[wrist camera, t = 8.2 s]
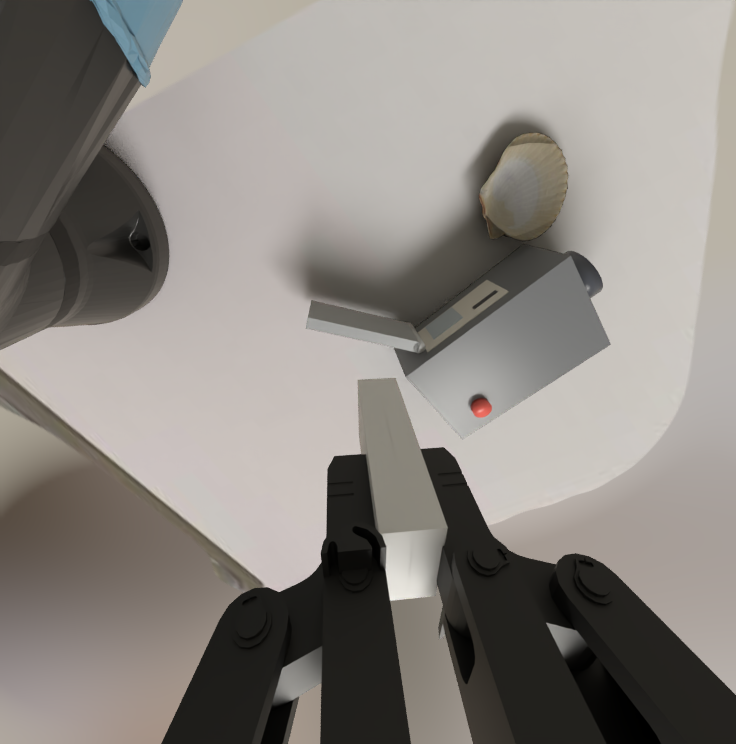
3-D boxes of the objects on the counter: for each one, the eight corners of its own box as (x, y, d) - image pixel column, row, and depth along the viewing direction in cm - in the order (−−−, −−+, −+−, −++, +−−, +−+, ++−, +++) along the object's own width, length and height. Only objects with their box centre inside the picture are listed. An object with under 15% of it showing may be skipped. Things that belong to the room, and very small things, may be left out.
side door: (409, 337, 33) (421, 358, 29) (308, 314, 31) (304, 334, 27) (414, 323, 33) (427, 343, 28) (311, 299, 30) (308, 316, 26)
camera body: (391, 344, 35) (405, 379, 28) (542, 227, 30) (601, 236, 24) (441, 401, 39) (464, 444, 32) (579, 306, 35) (639, 333, 28)
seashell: (546, 214, 32) (554, 116, 26) (571, 221, 29) (585, 115, 24) (473, 249, 31) (466, 156, 26) (492, 259, 29) (488, 160, 24)
